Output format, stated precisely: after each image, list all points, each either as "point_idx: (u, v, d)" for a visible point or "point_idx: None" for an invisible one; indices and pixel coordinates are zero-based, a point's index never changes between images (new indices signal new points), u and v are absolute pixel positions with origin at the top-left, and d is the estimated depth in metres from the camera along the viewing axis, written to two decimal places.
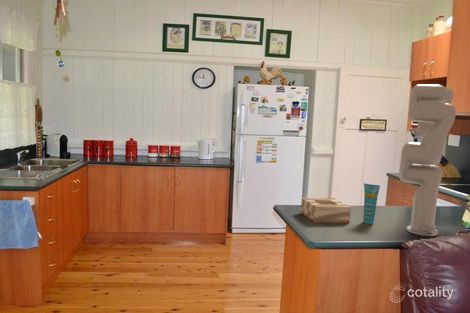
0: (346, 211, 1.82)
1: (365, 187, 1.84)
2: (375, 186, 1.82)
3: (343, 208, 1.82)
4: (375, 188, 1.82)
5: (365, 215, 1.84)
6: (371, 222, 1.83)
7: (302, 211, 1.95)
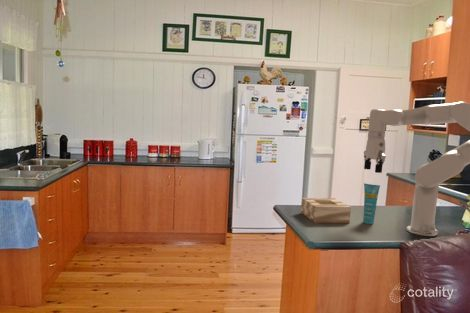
0: (346, 211, 1.82)
1: (365, 187, 1.84)
2: (375, 186, 1.82)
3: (343, 208, 1.82)
4: (375, 188, 1.82)
5: (365, 215, 1.84)
6: (371, 222, 1.83)
7: (302, 211, 1.95)
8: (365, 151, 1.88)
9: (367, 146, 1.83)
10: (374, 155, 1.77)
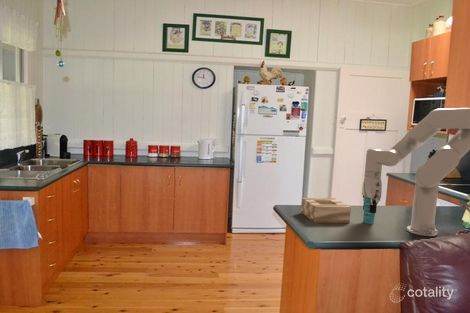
0: (346, 211, 1.82)
1: None
2: None
3: (343, 208, 1.82)
4: None
5: (365, 215, 1.84)
6: (371, 222, 1.83)
7: (302, 211, 1.95)
8: None
9: None
10: (371, 194, 1.79)
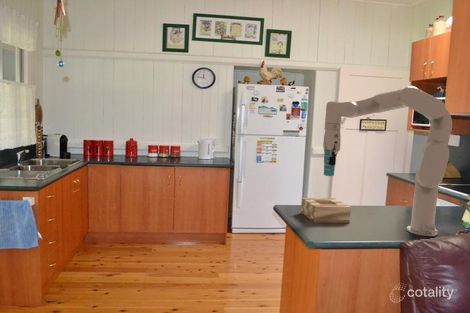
0: (346, 211, 1.82)
1: None
2: None
3: (343, 208, 1.82)
4: None
5: (325, 168, 1.86)
6: (331, 174, 1.85)
7: (302, 211, 1.95)
8: None
9: None
10: (330, 146, 1.82)
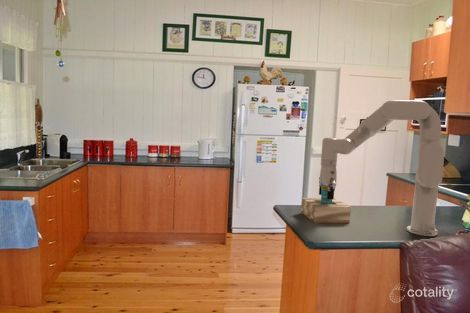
0: (346, 211, 1.82)
1: None
2: None
3: (343, 208, 1.82)
4: None
5: None
6: None
7: (302, 211, 1.95)
8: (320, 177, 1.95)
9: (321, 173, 1.90)
10: (326, 182, 1.84)
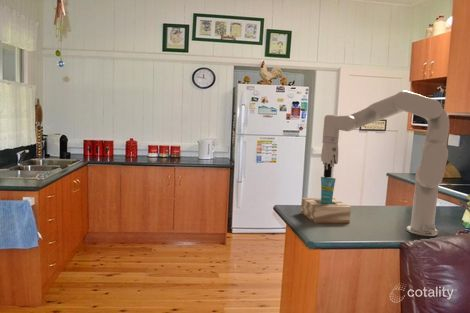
0: (346, 211, 1.82)
1: (322, 180, 1.89)
2: (331, 179, 1.86)
3: (343, 208, 1.82)
4: (331, 181, 1.86)
5: None
6: None
7: (302, 211, 1.95)
8: None
9: (322, 151, 1.89)
10: (327, 159, 1.83)
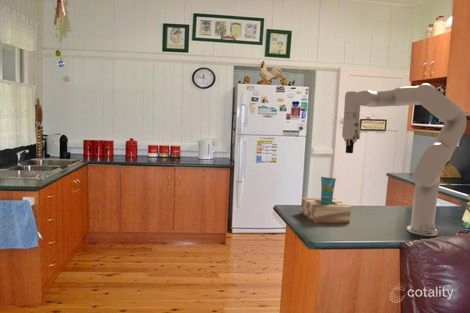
0: (346, 211, 1.82)
1: (322, 180, 1.89)
2: (331, 179, 1.86)
3: (343, 208, 1.82)
4: (331, 181, 1.86)
5: None
6: None
7: (302, 211, 1.95)
8: None
9: (343, 127, 1.92)
10: (350, 135, 1.86)
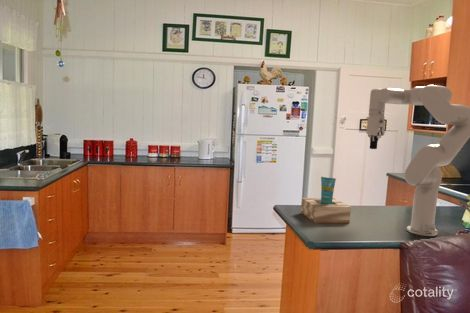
0: (346, 211, 1.82)
1: (322, 180, 1.89)
2: (331, 179, 1.86)
3: (343, 208, 1.82)
4: (331, 181, 1.87)
5: None
6: None
7: (302, 211, 1.95)
8: None
9: (368, 124, 1.98)
10: (374, 131, 1.92)
